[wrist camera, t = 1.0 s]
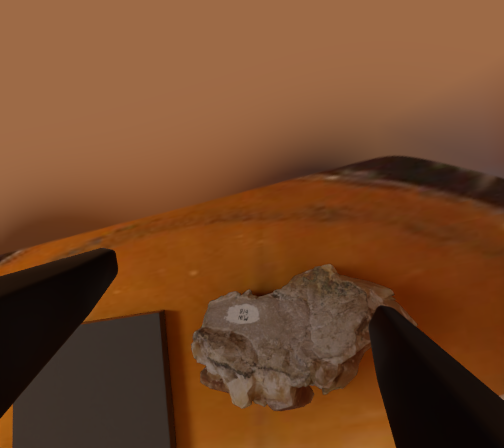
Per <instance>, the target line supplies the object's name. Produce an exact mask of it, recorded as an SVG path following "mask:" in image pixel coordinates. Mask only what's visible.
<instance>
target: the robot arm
mask: <svg viewBox="0 0 504 448" xmlns="http://www.w3.org/2000/svg"><path fill="white" fill-rule="evenodd" d="M117 273H118V265H117V258H116V253H115V251H114V250H111V249H106V248H99V249H96V250H92V251H89V252H85V253H82V254H78V255H75V256H71V257H67V258H64V259H60V260H57V261H53V262H50V263H46V264H42V265H39V266H35V267H32V268H28V269H25V270H21V271H18V272H14V273H10V274H7V275H3V276H0V418H1V417H2V416H3V415H4V413H5V412H6V411H7V410H8V409H9V408H10V406H11V405H12V404H13V403H14V402H15V401H16V399H17V398H18V397H19V396H20V395H21V394H22V392H23V391H24V390H25V389H26V388H27V386H28V385H29V384H30V383H31V382H32V381H33V379H34V378H35V377H36V376H37V375H38V374H39V372H40V371H41V370H42V369H43V368H44V367H45V365H46V364H47V363H48V362H49V361H50V360H51V358H52V357H53V356H54V355H55V354H56V352H57V351H58V350H59V349H60V348H61V347H62V345H63V344H64V343H65V342H66V341H67V340H68V338H69V337H70V336H71V335H72V334H73V333H74V331H75V330H76V329H77V328H78V327H79V326H80V324H81V323H82V322H83V321H84V320H85V318H86V317H87V316H88V315H89V313H90V312H91V311H92V309H93V308H94V307H95V305H96V304H97V302H98V301H99V300H100V298H101V297H102V295H103V294H104V293H105V291H106V290H107V288H108V287H109V285H110V284H111V283H112V281H113V280H114V278H115V277H116V275H117ZM368 330H369V336H370V342H371V347H372V353H373V359H374V365H375V370H376V375H377V380H378V384H379V388H380V392H381V395H382V399H383V402H384V406H385V409H386V413H387V417H388V420H389V424H390V427H391V431H392V434H393V438H394V442H395V445H396V448H504V400H502V399H501V398H500V397H499V396H498V395H497V394H496V393H494V392H493V391H492V390H491V389H490V388H488V387H487V386H486V385H485V384H484V383H482V382H481V381H480V380H479V379H478V378H477V377H475V376H474V375H473V374H472V373H471V372H469V371H468V370H467V369H466V368H465V367H463V366H462V365H461V364H460V363H459V362H457V361H456V360H455V359H454V358H453V357H452V356H450V355H449V354H448V353H447V352H446V351H444V350H443V349H442V348H441V347H440V346H438V345H437V344H436V343H435V342H434V341H433V340H431V339H430V338H429V337H428V336H427V335H425V334H424V333H423V332H422V331H421V330H419V329H418V328H417V327H416V326H415V325H414V324H412V323H411V322H410V321H409V320H408V319H406V318H405V317H404V316H403V315H402V314H400V313H399V312H398V311H397V310H396V309H394V308H393V307H389V306H384V305H379V306H378V307H377V308H376V310H375V312H374V314H373V316H372V318H371V320H370V322H369V326H368Z"/></svg>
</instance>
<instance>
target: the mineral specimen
mask: <svg viewBox="0 0 504 448" xmlns="http://www.w3.org/2000/svg"><path fill="white" fill-rule="evenodd" d="M393 295H395V294H394V293H393V291H392V290H391V289H390V288H387V287H384V286H381V285H379V284H376V283H373V282H370V281H366V280H362V279H357V278H351V277H348V276H344V275H339V274H338V273H337V271H336V269H335V268H334V267H333V266H332V265H331V264H327V265H323V266H318V267H315V268H314V269H311V270H308V271H306V272H304V273H302V274H299V275H296V276H294V277H293V278H292V279H291V281H290V282H289V283H288V284H287V285H285V286H283V287H282V289H277V290H274V291H273V293H270V294H267V295H264V296H260V297H257V296H256V295H255V296H254V295H253V294H252V292H251V290H250V289H249V290H247V291H246V292H244V293H243V294H242V295H241V293H239V292H236V291H234V292H230V293H228V294H227V295H225V296H221V297H219V298H218V299H216V300H212V301H210V303H209V304H208V309H207V311H206V313H205V316H204V321H203V325H202V327H201V328H200V329H199V330H197V331H195V332H194V334H193V343H192V344H191V345H192V348H191V349H192V353H193V356H194V359H196V360H197V362H198V363H201V364H204V365H206V367H205V368H204V369H203V370H202V371H201V376H200V380H201V383H202V384H204V385H205V386H207V387H209V388H211V389H214V390H219V391H223V392H227V393H230V396H231V398H232V403H233V404H235V405H237V406H239V407H240V408H242V409H243V408H246V407H248V406H250V405H251V404H252V401H254V402H255V404H260V405H262V406H264V407H265V406H266V404H268V406H269V407H270V408H271V409H272V410H274V411H284V410H290V409H295V408H299V407H304V406H305V405H306V404H309V403H311V400H312V398H313V395H314V393H313V390H312V389H311V388H310V386H309V385H312V386H313V385H315V386H317V387H318V388H319V389H322V392H323V395H324V394H327V393H329V392H330V391H332V390H335V389H340V388H341V389H343V388H344V387H345V386H346V385H347V384H348V383H349V382H350V381H351V380H352V379H353V378H354V377H355V376H356V375H357V372H358V366H359V363H360V361H361V359H362V357H363V355H364V353H365V351H367V350H368V349H370V348H371V342H370V336H369V330H368V326H369V322H370V320H371V318H372V316H373V314H374V312H375V310H376V308H377V307H378V306H379V305H384V306H389V307H393V308H394V309H396V310H397V311H398V312H399V313H400V314H402V315H403V316H404V317H405V318H406V319H408V320H409V321H410V322H411V323H412V324H414V325H415V326H417V325H418V324H417V323H416V322H415V321H414V320H413V319H412V318H411V317H410V316H409V314H408V313H407V312H406V311H405V310H404V309H403V308H402V307H401V306H400V305H399V304H398V303H397V302H395V301H394V300H396V299H395V298H393V297H392V296H393Z"/></svg>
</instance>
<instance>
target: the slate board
mask: <svg viewBox="0 0 504 448" xmlns="http://www.w3.org/2000/svg"><path fill="white" fill-rule="evenodd" d="M12 448H176V437H175V426H174V415H173V403H172V392H171V381H170V369H169V358H168V347H167V336H166V324H165V313H164V310H160V311H153V312H147V313H140V314H134V315H127V316H121V317H114V318H108V319H101V320H95V321H88V322H82V323H81V324H80V326H79V327H78V328H77V329H76V330H75V331H74V333H73V334H72V335H71V336H70V337H69V338H68V340H67V341H66V342H65V343H64V344H63V345H62V347H61V348H60V349H59V350H58V351H57V352H56V354H55V355H54V356H53V357H52V358H51V360H50V361H49V362H48V363H47V364H46V365H45V367H44V368H43V369H42V370H41V371H40V372H39V374H38V375H37V376H36V377H35V378H34V379H33V381H32V382H31V383H30V384H29V385H28V386H27V388H26V389H25V390H24V391H23V392H22V394H21V395H20V396H19V397H18V398H17V399H16V401H15V402H14V403H13V446H12Z"/></svg>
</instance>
